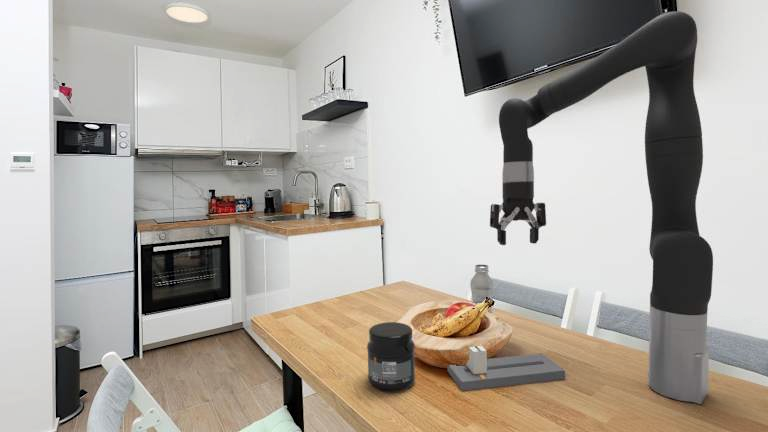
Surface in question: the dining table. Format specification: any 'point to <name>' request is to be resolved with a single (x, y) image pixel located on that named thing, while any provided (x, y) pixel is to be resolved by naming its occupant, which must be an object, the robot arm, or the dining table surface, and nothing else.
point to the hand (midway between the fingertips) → (518, 243)
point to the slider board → (508, 372)
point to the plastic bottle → (481, 285)
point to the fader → (477, 360)
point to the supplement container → (391, 357)
